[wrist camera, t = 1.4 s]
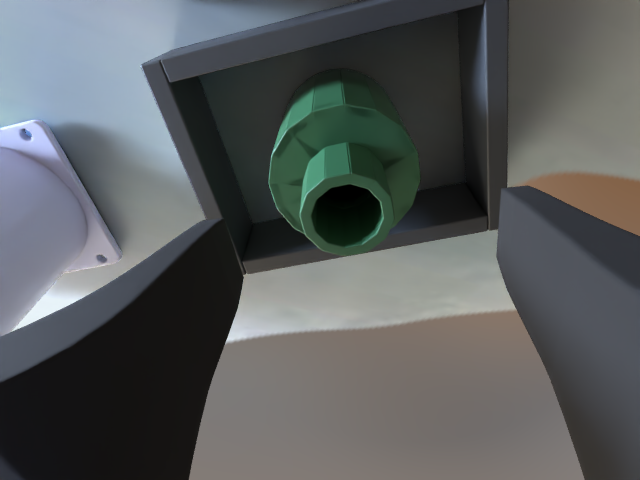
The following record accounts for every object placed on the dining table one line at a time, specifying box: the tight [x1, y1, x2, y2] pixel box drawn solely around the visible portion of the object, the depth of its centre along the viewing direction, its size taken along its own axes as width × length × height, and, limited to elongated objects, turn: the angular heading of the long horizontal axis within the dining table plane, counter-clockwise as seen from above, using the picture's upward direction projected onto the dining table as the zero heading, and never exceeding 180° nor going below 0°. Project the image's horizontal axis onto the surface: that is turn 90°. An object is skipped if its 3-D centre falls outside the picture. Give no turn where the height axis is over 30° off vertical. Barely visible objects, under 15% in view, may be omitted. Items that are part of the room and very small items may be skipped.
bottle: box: [268, 69, 421, 256], centre depth 16 cm, size 5×5×8 cm
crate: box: [141, 0, 509, 275], centre depth 18 cm, size 13×10×4 cm
